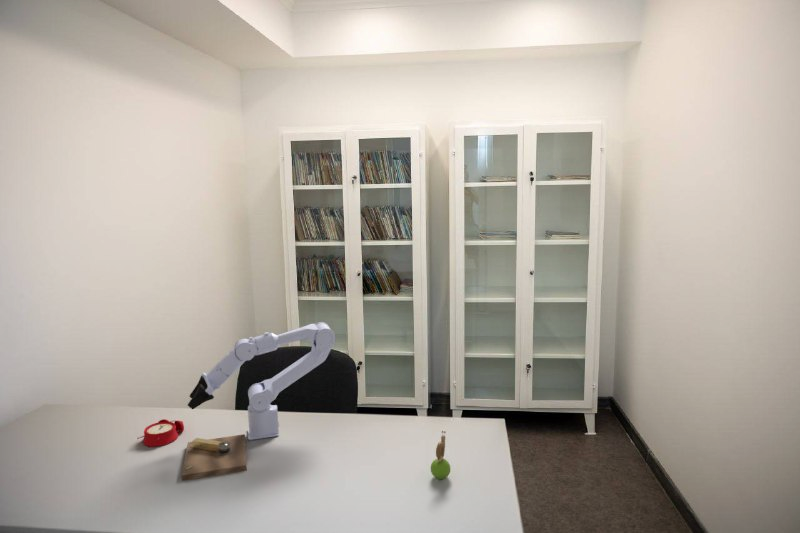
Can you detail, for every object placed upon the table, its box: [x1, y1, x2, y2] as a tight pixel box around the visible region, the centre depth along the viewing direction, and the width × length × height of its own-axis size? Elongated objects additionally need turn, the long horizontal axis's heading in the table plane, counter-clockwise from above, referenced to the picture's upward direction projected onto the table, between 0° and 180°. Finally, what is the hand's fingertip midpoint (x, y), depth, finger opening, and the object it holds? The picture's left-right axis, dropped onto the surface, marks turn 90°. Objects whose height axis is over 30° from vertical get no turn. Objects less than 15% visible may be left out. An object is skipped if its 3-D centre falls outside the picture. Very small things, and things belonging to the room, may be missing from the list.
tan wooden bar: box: [191, 437, 230, 454], centre depth 160 cm, size 12×3×2 cm, turn 72°
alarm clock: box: [137, 418, 185, 448], centre depth 172 cm, size 10×6×15 cm
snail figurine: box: [430, 430, 451, 480], centre depth 145 cm, size 5×6×12 cm
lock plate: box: [181, 434, 247, 481], centre depth 158 cm, size 17×20×2 cm
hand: (191, 402), depth 165 cm, fingers open, 7 cm apart
